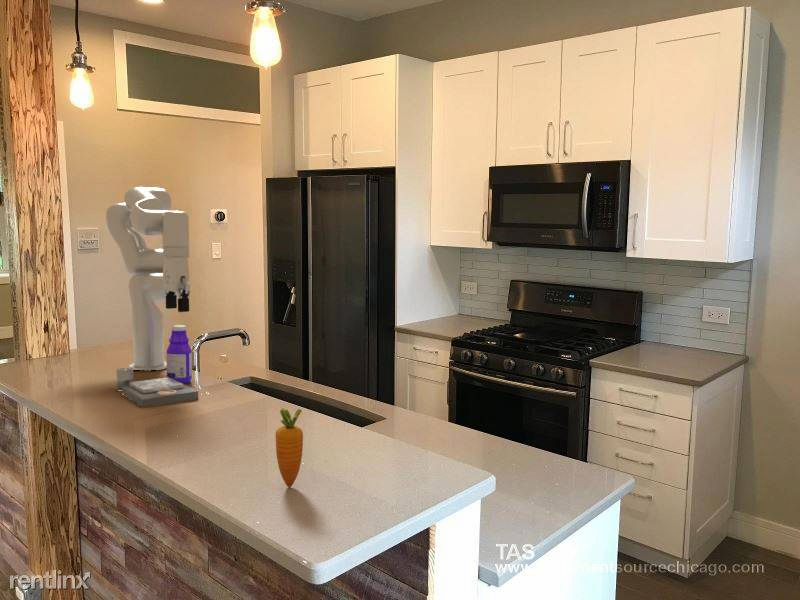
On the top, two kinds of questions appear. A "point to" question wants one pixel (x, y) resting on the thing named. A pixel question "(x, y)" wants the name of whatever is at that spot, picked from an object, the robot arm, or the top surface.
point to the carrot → (289, 447)
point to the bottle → (179, 355)
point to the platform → (156, 385)
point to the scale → (160, 396)
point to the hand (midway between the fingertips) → (177, 310)
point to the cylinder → (124, 377)
